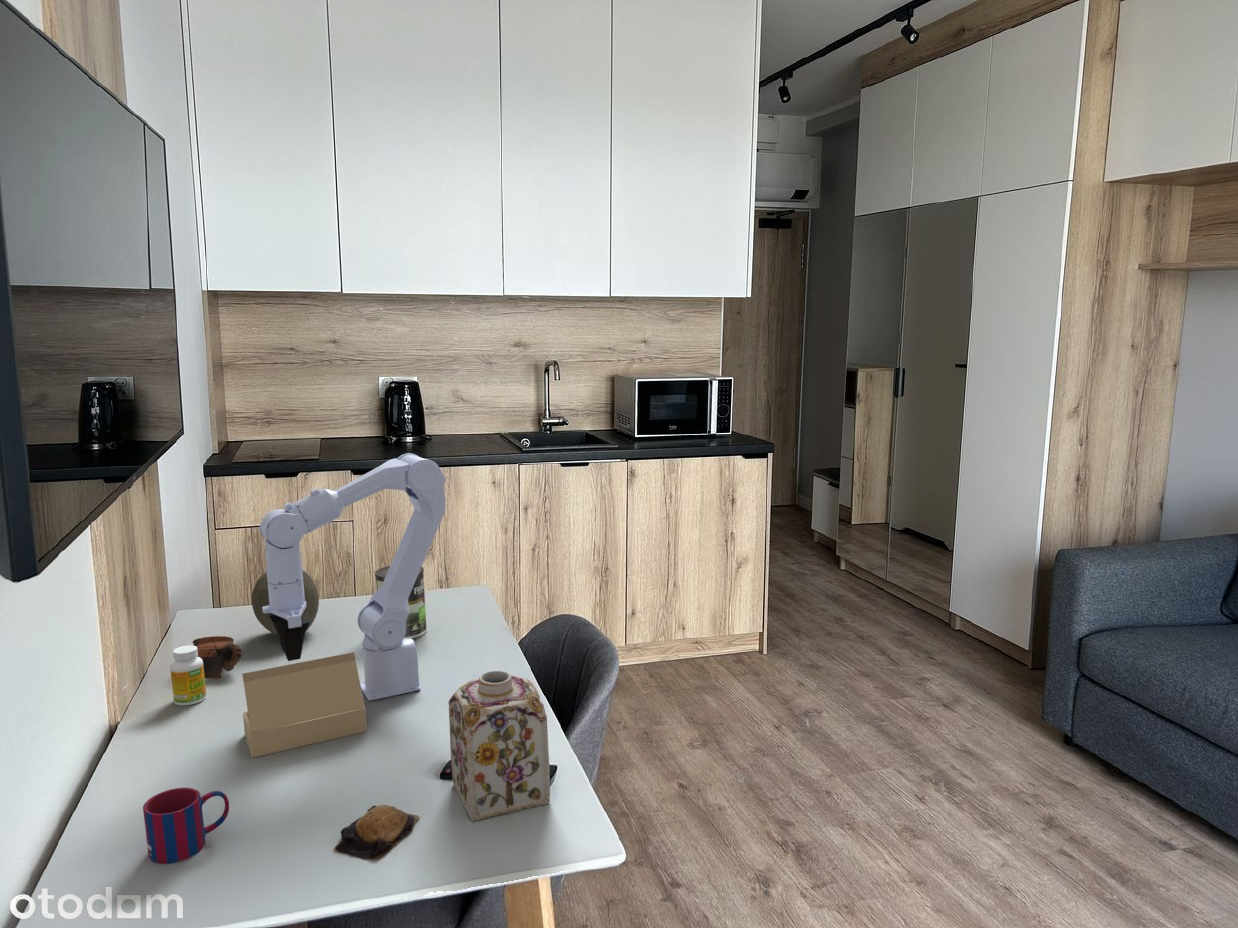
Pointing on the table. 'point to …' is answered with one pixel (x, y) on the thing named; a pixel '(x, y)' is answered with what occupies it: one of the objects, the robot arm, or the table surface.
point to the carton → (304, 732)
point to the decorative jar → (499, 745)
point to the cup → (177, 824)
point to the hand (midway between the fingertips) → (291, 654)
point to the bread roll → (375, 832)
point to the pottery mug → (217, 654)
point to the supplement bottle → (187, 676)
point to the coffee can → (411, 604)
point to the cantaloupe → (262, 599)
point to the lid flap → (302, 691)
